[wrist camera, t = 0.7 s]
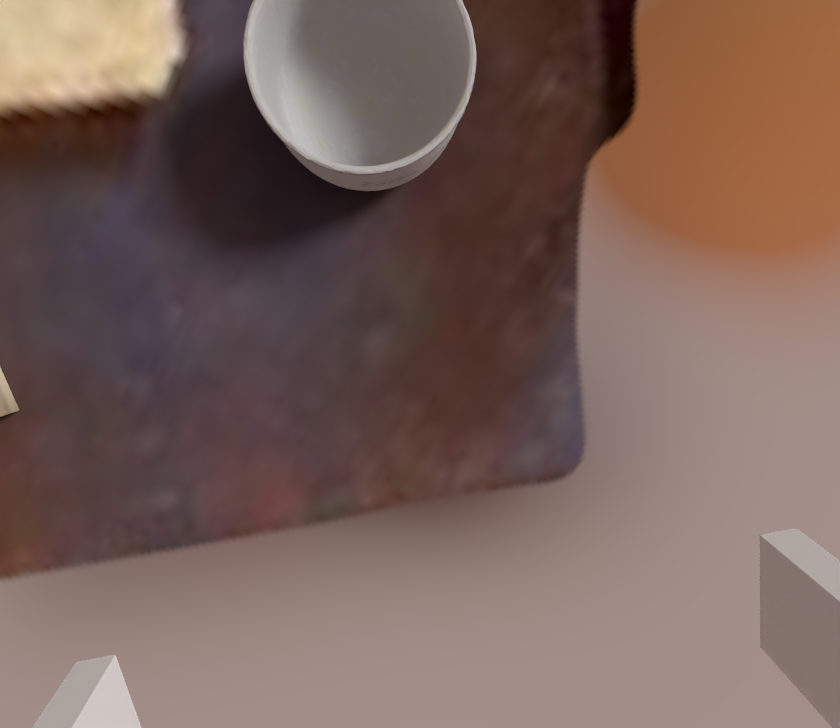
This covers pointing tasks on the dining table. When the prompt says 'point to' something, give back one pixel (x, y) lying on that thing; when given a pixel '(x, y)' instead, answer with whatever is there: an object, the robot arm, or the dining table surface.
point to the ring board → (6, 398)
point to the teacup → (361, 83)
